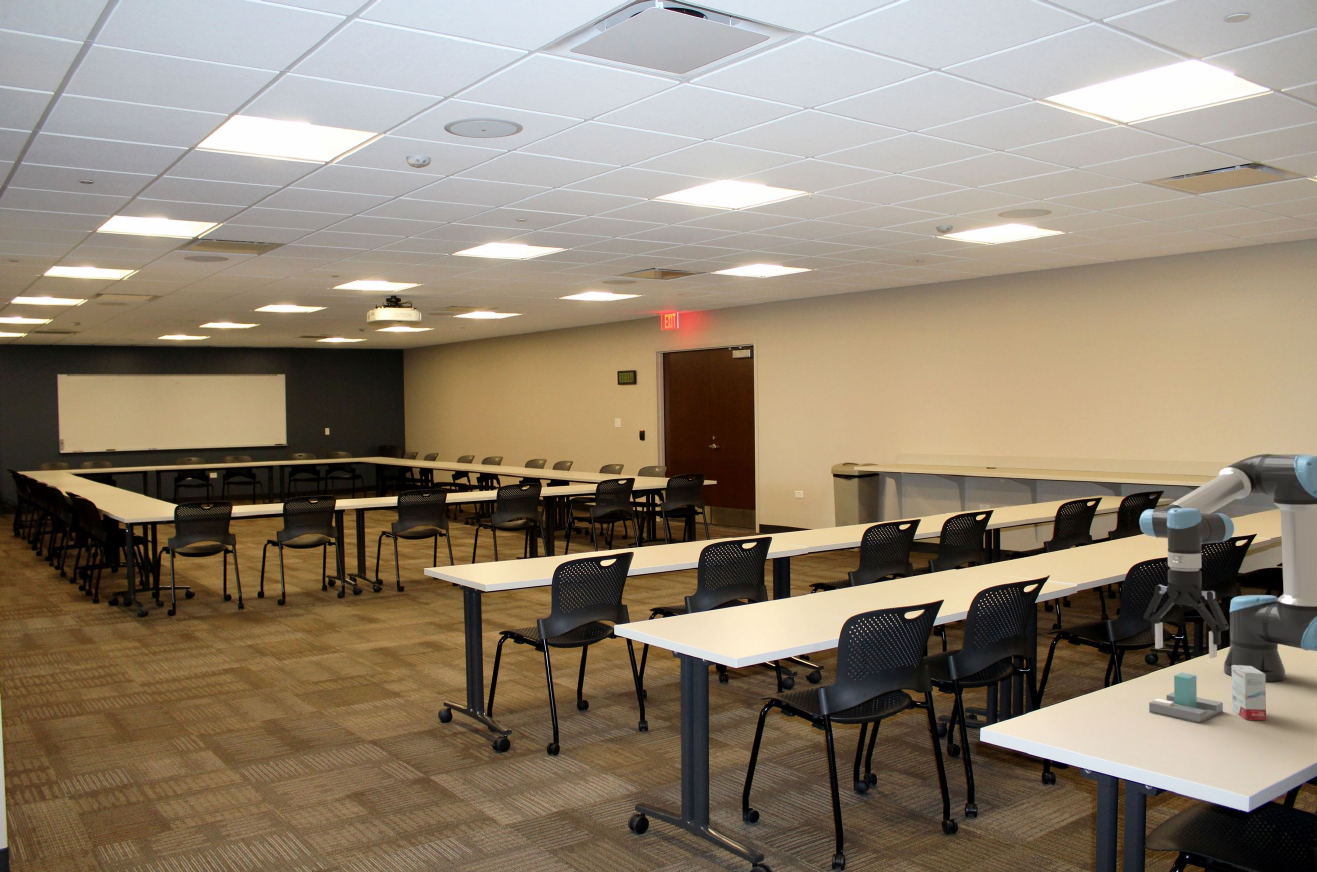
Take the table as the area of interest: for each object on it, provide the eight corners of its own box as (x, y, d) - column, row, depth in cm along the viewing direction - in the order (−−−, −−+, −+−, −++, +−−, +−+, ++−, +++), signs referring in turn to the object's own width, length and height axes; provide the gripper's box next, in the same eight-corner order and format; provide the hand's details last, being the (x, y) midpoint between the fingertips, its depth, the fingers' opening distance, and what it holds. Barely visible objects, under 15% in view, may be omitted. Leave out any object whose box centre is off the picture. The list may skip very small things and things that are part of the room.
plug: (1182, 707, 240) (1181, 672, 240) (1196, 710, 237) (1196, 675, 237) (1174, 710, 237) (1174, 675, 237) (1189, 713, 234) (1188, 678, 234)
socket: (1173, 701, 246) (1173, 689, 246) (1222, 711, 237) (1222, 699, 237) (1149, 711, 238) (1149, 699, 238) (1199, 723, 228) (1199, 710, 228)
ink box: (1267, 721, 229) (1266, 673, 229) (1245, 720, 230) (1245, 672, 230) (1252, 710, 238) (1251, 664, 238) (1231, 709, 239) (1231, 664, 239)
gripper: (1128, 565, 244) (1129, 646, 244) (1231, 575, 225) (1232, 664, 225) (1142, 562, 249) (1143, 641, 249) (1243, 572, 230) (1244, 658, 230)
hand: (1185, 652), depth 237 cm, fingers open, 12 cm apart
